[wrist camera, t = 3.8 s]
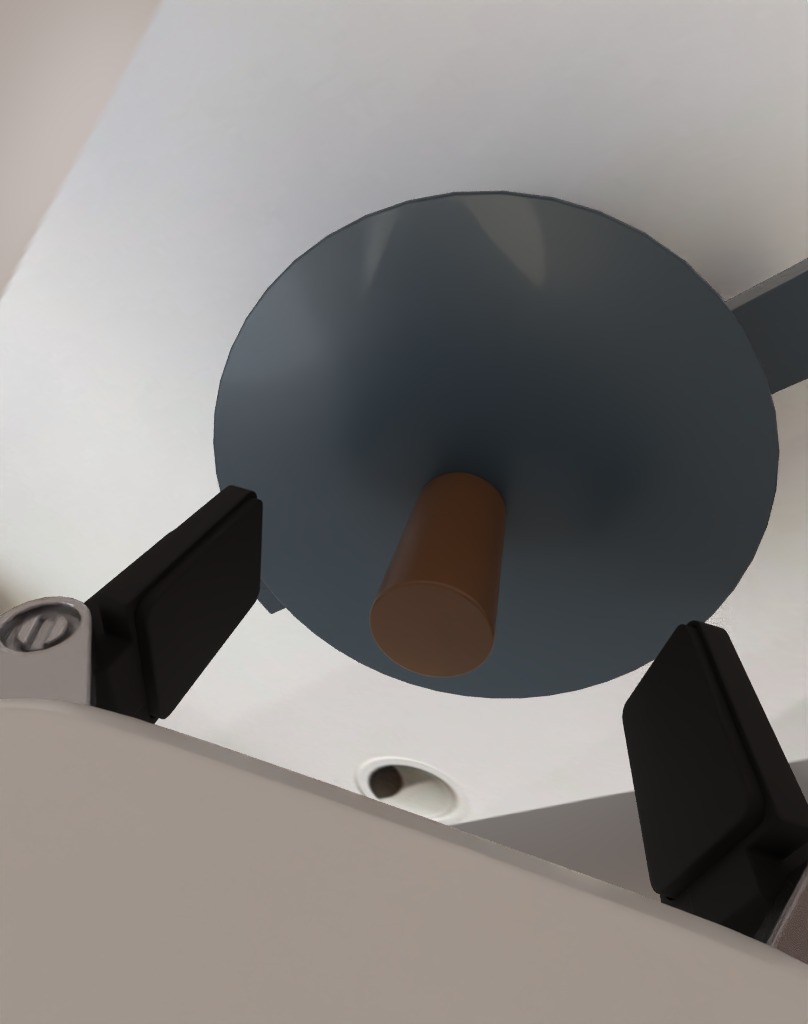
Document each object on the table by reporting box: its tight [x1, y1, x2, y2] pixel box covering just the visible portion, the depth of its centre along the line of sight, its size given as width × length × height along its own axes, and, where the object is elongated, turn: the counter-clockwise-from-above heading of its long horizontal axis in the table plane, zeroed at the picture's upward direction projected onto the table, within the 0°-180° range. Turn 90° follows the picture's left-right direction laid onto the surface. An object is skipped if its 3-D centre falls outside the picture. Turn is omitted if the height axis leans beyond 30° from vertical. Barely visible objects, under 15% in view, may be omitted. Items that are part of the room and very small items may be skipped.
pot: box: [257, 258, 808, 614], centre depth 18 cm, size 15×20×8 cm
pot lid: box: [213, 191, 779, 698], centre depth 13 cm, size 16×16×6 cm
